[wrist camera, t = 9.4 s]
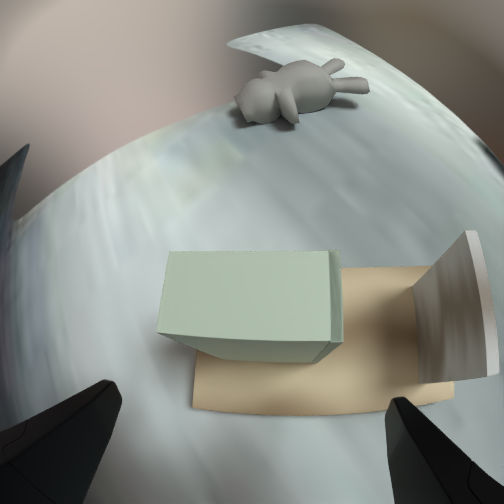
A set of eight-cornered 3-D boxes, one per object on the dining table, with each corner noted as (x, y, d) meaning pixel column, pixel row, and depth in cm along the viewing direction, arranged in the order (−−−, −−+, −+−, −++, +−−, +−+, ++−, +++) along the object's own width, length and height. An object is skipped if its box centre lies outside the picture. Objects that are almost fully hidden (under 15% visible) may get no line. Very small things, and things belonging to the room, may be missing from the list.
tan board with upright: (441, 397, 16) (527, 393, 7) (201, 406, 19) (130, 417, 10) (432, 275, 20) (495, 207, 11) (212, 278, 23) (162, 207, 14)
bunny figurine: (223, 76, 30) (333, 42, 28) (235, 106, 34) (336, 72, 33) (248, 115, 25) (377, 74, 24) (260, 150, 30) (376, 108, 29)
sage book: (316, 363, 17) (343, 342, 8) (223, 360, 18) (156, 333, 9) (317, 317, 18) (339, 249, 10) (227, 315, 19) (169, 250, 10)
